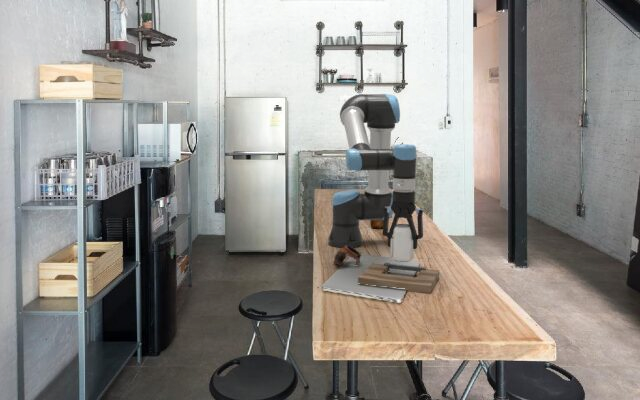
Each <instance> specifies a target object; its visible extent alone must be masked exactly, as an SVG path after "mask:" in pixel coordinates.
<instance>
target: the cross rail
mask: <svg viewBox="0 0 640 400" xmlns="http://www.w3.org/2000/svg"><path fill="white" fill-rule="evenodd" d="M383 265H384V266H388V271H390V272H391V270H400V271H408V272H409V271H410V272H418V273H420V271H421V270H426V269H427V267H425V266H416V265H406V264H398V263H397V264H395V263H388V262H385V263H383Z"/></svg>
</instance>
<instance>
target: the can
mask: <svg viewBox="0 0 640 400" xmlns="http://www.w3.org/2000/svg"><path fill="white" fill-rule="evenodd" d="M392 237H393V257H392V259H393V260H394V261H396V262H398V263H407V262H410V261H412V260H413V259H410V249H411V240H412V239H413V237H412V234H411V230H410V227H409V224H408V223H407V224H406V223H397V224H396V225H395V228H394V233H393V236H392Z"/></svg>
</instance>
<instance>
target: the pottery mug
mask: <svg viewBox="0 0 640 400" xmlns="http://www.w3.org/2000/svg"><path fill="white" fill-rule="evenodd" d="M347 256H349V257H350V258H352V259H354V260H356V261H355V263H354V264H355V265H358V266H359V264H360V262H361V257H362V254H361V253H360V252H359V251H358V250H357V249H355V247H350V246H347V245H345V247H344V248H342V247H340V248H339V249H338V250H337V251H336V254H335V255H334V260H333V265H334V266H335V267H337V266H343V263H344V261H346V258H347Z"/></svg>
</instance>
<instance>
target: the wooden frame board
mask: <svg viewBox="0 0 640 400" xmlns="http://www.w3.org/2000/svg"><path fill="white" fill-rule="evenodd" d="M387 272H388V266H384V263H383V264H380V263H372V264H371V265H370V266H368V267H367V268H366V269H365V270H364V271H363V272H362V273H361V274H360V275H358V276H357V284H358V283H360V284H368V285H376V286H387V287H396V288H405V289H406V290H405V291H408V292H414V293H415V292H416V293H425V294H431V293H432V291H433V289H434V288H435V286H436V284H437V282H438V281H439V278H440V269H439V270H437V269H428V268H426V270H421V271H420V272H418V274H417V276H416V277H415V276H408V275H407V276H405V275H396V274H389V273H387ZM386 273H387V274H386Z"/></svg>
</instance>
